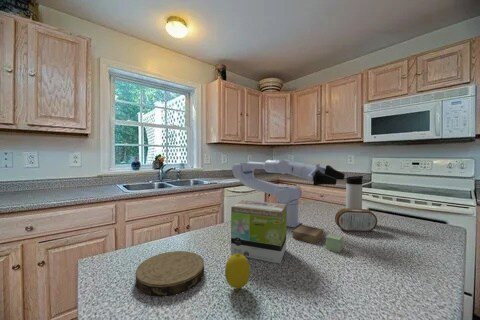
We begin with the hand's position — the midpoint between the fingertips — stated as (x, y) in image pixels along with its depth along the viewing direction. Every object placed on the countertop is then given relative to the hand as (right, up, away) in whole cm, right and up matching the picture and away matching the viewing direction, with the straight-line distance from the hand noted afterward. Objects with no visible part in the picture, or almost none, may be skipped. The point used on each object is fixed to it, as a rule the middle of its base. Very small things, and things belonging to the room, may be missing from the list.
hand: (340, 179), depth 80 cm
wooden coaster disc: (-53, -22, -26) cm, 63 cm away
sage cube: (-6, -21, -10) cm, 24 cm away
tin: (+9, -21, +6) cm, 23 cm away
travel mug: (+14, -20, +17) cm, 30 cm away
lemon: (-37, -22, -31) cm, 53 cm away
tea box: (-30, -21, -13) cm, 39 cm away
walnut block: (-12, -21, -1) cm, 24 cm away
